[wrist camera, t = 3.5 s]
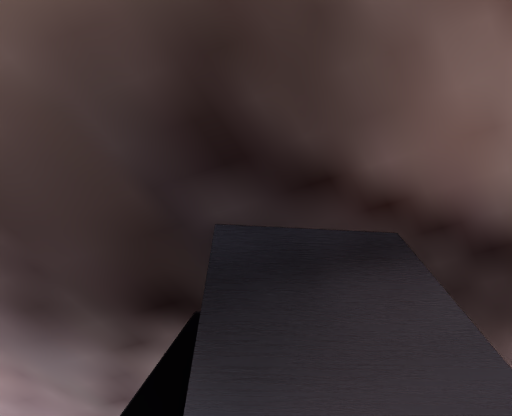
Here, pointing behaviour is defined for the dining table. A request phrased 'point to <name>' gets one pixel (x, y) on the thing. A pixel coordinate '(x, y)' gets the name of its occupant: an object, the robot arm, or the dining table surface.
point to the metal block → (335, 331)
